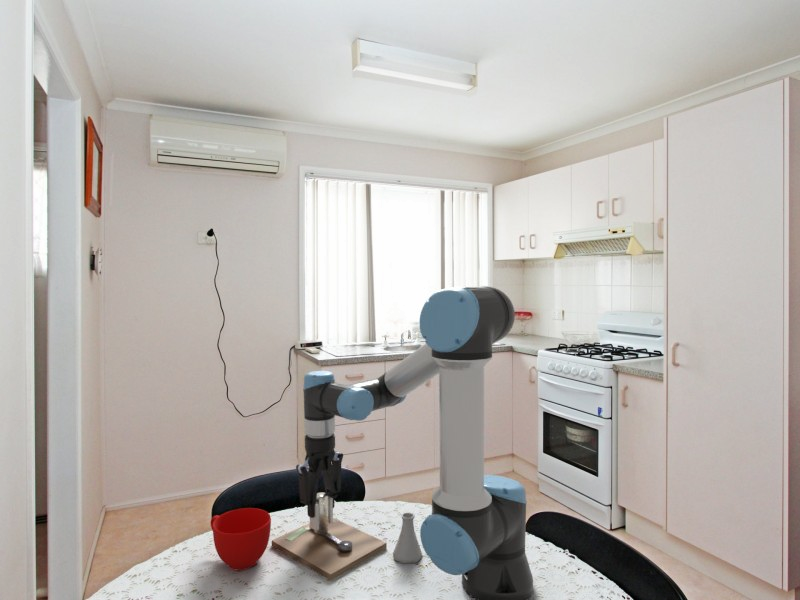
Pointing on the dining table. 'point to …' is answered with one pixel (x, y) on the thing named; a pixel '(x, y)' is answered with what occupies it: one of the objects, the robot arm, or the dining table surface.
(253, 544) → the ceramic cup
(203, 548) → the dining table surface
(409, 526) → the flask
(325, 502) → the metal crank handle
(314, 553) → the board
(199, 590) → the dining table surface
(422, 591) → the dining table surface
